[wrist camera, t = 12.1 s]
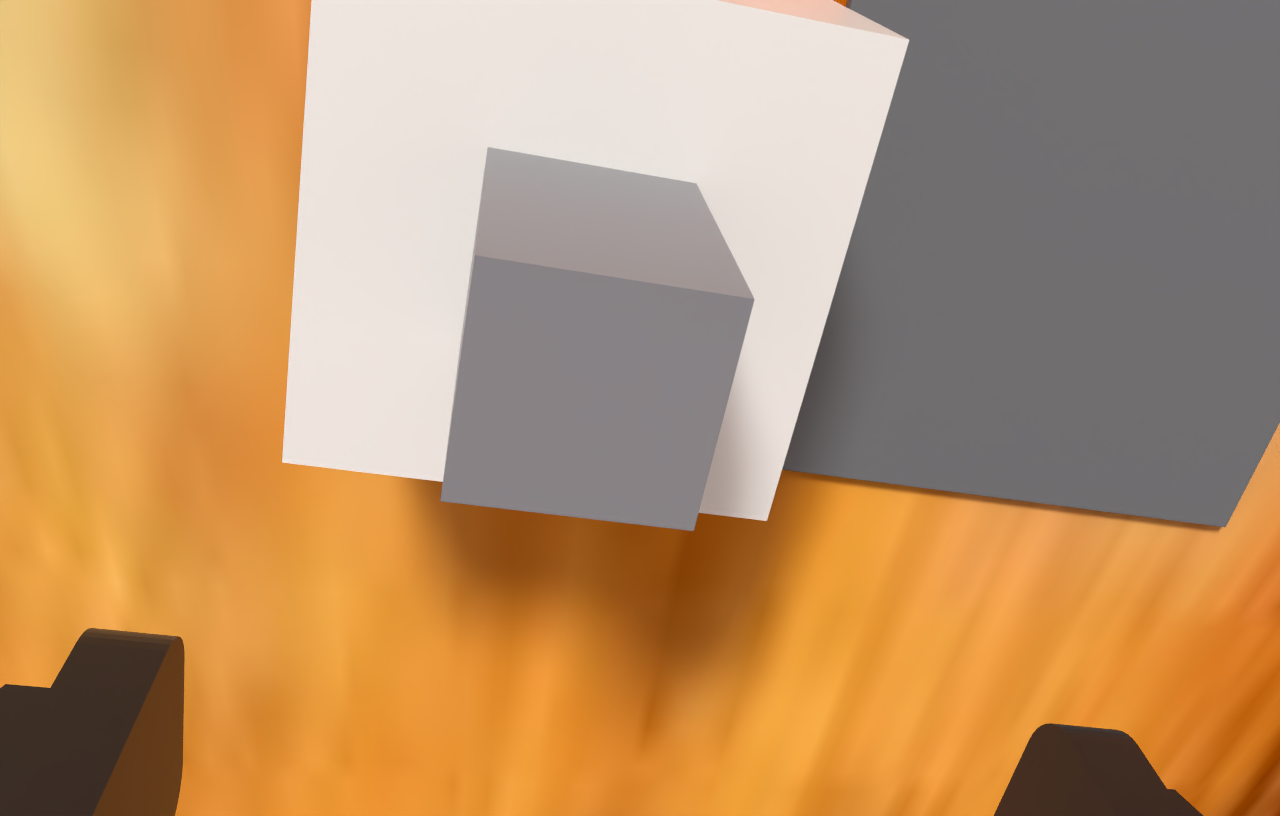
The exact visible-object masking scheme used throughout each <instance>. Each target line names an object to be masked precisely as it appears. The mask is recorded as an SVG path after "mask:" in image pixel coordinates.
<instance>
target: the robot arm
mask: <svg viewBox="0 0 1280 816" xmlns="http://www.w3.org/2000/svg"><path fill="white" fill-rule="evenodd" d="M183 714H184V644H183V640H182V639H181V637H178V636H168V635H158V634H147V633H137V632H127V631H116V630H106V629H96V628H90V629H87V630H86V631H85V632H84V633H83V634H82V635H81V636H80V638H79V639H78V641H77V643H76V644H75V646H74V648H73V650H72V651H71V653H70V655H69V657H68V658H67V660H66V662H65V664H64V665H63V667H62V669H61V670H60V672H59V674H58V676H57V677H56V679H55V681H54V683H53V684H52V686H51V688H43V687H32V686H21V685H9V684H5V685H4V686H3V687H1V688H0V816H175V812H176V808H177V803H178V798H179V792H180V786H181V778H182V766H183ZM994 816H1203V815H1202V814H1201V813H1200V812H1199V811H1197V810H1196V809H1195V808H1194V807H1193V806H1192V805H1191V804H1190V803H1189V802H1188V801H1186V800H1185V799H1184V798H1183V797H1182V796H1181V795H1180V794H1179V793H1178V792H1177V791H1176V790H1173V789H1167V788H1166V787H1165V785H1164V784H1163V782H1162V781H1161V779H1160V778H1159V776H1158V775H1157V773H1156V772H1155V770H1154V769H1153V767H1152V766H1151V764H1150V763H1149V761H1148V760H1147V758H1146V757H1145V755H1144V754H1143V752H1142V751H1141V749H1140V748H1139V746H1138V745H1137V744H1136V742H1135V741H1134V740H1133V739H1132V738H1131V737H1130V736H1129V735H1128V734H1126V733H1124V732H1122V731H1119V730H1113V729H1102V728H1092V727H1081V726H1071V725H1061V724H1044V725H1042V726H1040V727H1039V728H1038V729H1036V731H1035V732H1034V733H1033V734H1032V736H1031V738H1030V740H1029V742H1028V744H1027V746H1026V748H1025V750H1024V752H1023V755H1022V757H1021V759H1020V761H1019V763H1018V765H1017V767H1016V769H1015V772H1014V774H1013V776H1012V778H1011V780H1010V782H1009V784H1008V786H1007V789H1006V791H1005V793H1004V795H1003V797H1002V799H1001V801H1000V803H999V806H998V808H997V810H996V812H995V814H994Z"/></svg>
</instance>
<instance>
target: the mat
mask: <svg viewBox="0 0 1280 816" xmlns="http://www.w3.org/2000/svg"><path fill="white" fill-rule="evenodd" d="M846 7H847V8H849V9H851V10H853V11H855V12H856V13H858V14H860V15H862V16H864V17H866V18H868V19H870V20H872V21H874V22H876V23H878V24H880V25H882V26H884V27H886V28H888V29H889V30H891V31H893V32H895V33H897V34H899V35H901V36H903V37H905V38H907V39H909V43H908V46H907V50H906V53H905V56H904V60H903V63H902V66H901V70H900V73H899V76H898V80H897V83H896V87H895V90H894V93H893V97H892V100H891V103H890V107H889V110H888V114H887V117H886V120H885V124H884V127H883V130H882V134H881V137H880V141H879V144H878V147H877V151H876V154H875V157H874V161H873V164H872V168H871V171H870V174H869V178H868V181H867V184H866V188H865V191H864V195H863V198H862V201H861V205H860V208H859V211H858V215H857V218H856V222H855V225H854V228H853V232H852V235H851V238H850V242H849V245H848V249H847V252H846V255H845V259H844V262H843V265H842V269H841V272H840V276H839V279H838V282H837V286H836V289H835V292H834V296H833V299H832V303H831V306H830V309H829V313H828V316H827V319H826V323H825V326H824V330H823V333H822V336H821V340H820V343H819V346H818V350H817V353H816V357H815V360H814V363H813V367H812V370H811V373H810V377H809V380H808V384H807V387H806V390H805V394H804V397H803V400H802V404H801V407H800V411H799V414H798V417H797V421H796V424H795V427H794V431H793V434H792V438H791V441H790V444H789V448H788V451H787V454H786V458H785V461H784V465H783V468H782V470H790V471H797V472H805V473H813V474H820V475H828V476H836V477H844V478H851V479H859V480H867V481H874V482H882V483H890V484H897V485H905V486H913V487H920V488H928V489H936V490H943V491H951V492H959V493H966V494H974V495H982V496H989V497H997V498H1005V499H1012V500H1020V501H1028V502H1035V503H1043V504H1051V505H1058V506H1066V507H1074V508H1081V509H1089V510H1097V511H1104V512H1112V513H1120V514H1127V515H1135V516H1143V517H1150V518H1158V519H1166V520H1173V521H1181V522H1189V523H1196V524H1204V525H1212V526H1219V527H1226V525H1227V523H1228V521H1229V520H1230V518H1231V516H1232V514H1233V512H1234V510H1235V508H1236V506H1237V504H1238V502H1239V500H1240V498H1241V496H1242V494H1243V492H1244V490H1245V489H1246V487H1247V485H1248V483H1249V481H1250V479H1251V477H1252V475H1253V473H1254V471H1255V469H1256V467H1257V465H1258V463H1259V461H1260V460H1261V458H1262V456H1263V454H1264V452H1265V450H1266V448H1267V446H1268V444H1269V442H1270V440H1271V438H1272V436H1273V434H1274V432H1275V431H1276V429H1277V427H1278V425H1279V423H1280V0H848V1H847V4H846Z"/></svg>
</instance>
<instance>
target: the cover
mask: <svg viewBox="0 0 1280 816" xmlns="http://www.w3.org/2000/svg"><path fill="white" fill-rule="evenodd" d="M908 43H909V39H907V38H905V37H903V36H901V35H899V34H897V33H895V32H893V31H891V30H889V29H888V28H886V27H884V26H882V25H880V24H878V23H876V22H874V21H872V20H870V19H868V18H866V17H864V16H862V15H860V14H858V13H856V12H855V11H853V10H851V9H849V8H847V7H845V6H843V5H841V4H839V3H837V2H835V1H833V0H312V4H311V20H310V36H309V51H308V67H307V83H306V98H305V114H304V130H303V145H302V161H301V177H300V192H299V208H298V224H297V239H296V255H295V270H294V286H293V302H292V317H291V333H290V349H289V364H288V380H287V396H286V411H285V427H284V443H283V458H282V462H283V463H292V464H300V465H308V466H316V467H325V468H333V469H341V470H349V471H358V472H366V473H374V474H383V475H391V476H399V477H407V478H416V479H424V480H432V481H440V482H443V484H442V492H441V500H440V501H442V502H451V503H459V504H468V505H476V506H485V507H493V508H502V509H510V510H519V511H527V512H536V513H544V514H553V515H561V516H570V517H578V518H587V519H595V520H604V521H612V522H621V523H629V524H638V525H646V526H655V527H663V528H672V529H680V530H689V531H694V528H695V524H696V520H697V517H698V513H705V514H713V515H722V516H730V517H738V518H747V519H755V520H763V521H767V519H768V515H769V512H770V508H771V505H772V502H773V498H774V495H775V492H776V488H777V485H778V481H779V478H780V475H781V471H782V468H783V465H784V461H785V458H786V454H787V451H788V448H789V444H790V441H791V438H792V434H793V431H794V427H795V424H796V421H797V417H798V414H799V411H800V407H801V404H802V400H803V397H804V394H805V390H806V387H807V384H808V380H809V377H810V373H811V370H812V367H813V363H814V360H815V357H816V353H817V350H818V346H819V343H820V340H821V336H822V333H823V330H824V326H825V323H826V319H827V316H828V313H829V309H830V306H831V303H832V299H833V296H834V292H835V289H836V286H837V282H838V279H839V276H840V272H841V269H842V265H843V262H844V259H845V255H846V252H847V249H848V245H849V242H850V238H851V235H852V232H853V228H854V225H855V222H856V218H857V215H858V211H859V208H860V205H861V201H862V198H863V195H864V191H865V188H866V184H867V181H868V178H869V174H870V171H871V168H872V164H873V161H874V157H875V154H876V151H877V147H878V144H879V141H880V137H881V134H882V130H883V127H884V124H885V120H886V117H887V114H888V110H889V107H890V103H891V100H892V97H893V93H894V90H895V87H896V83H897V80H898V76H899V73H900V70H901V66H902V63H903V60H904V56H905V53H906V50H907V46H908Z"/></svg>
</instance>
